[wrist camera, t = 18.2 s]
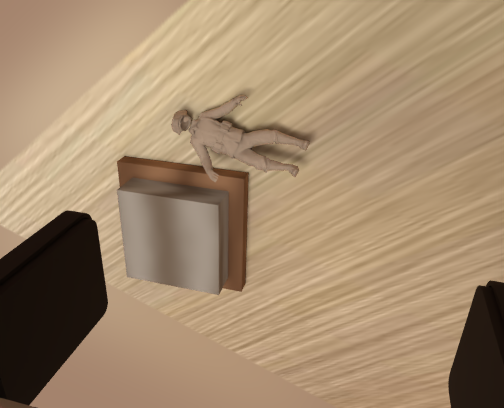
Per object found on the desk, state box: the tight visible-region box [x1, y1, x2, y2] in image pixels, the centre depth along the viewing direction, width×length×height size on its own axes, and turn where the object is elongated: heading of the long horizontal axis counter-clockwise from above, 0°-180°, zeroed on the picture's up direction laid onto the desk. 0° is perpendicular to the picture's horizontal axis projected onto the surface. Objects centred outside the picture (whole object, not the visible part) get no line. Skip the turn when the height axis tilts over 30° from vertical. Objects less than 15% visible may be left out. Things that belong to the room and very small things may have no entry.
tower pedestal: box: [117, 156, 248, 295], centre depth 47 cm, size 13×13×4 cm
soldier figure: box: [171, 95, 310, 182], centre depth 41 cm, size 8×5×12 cm
